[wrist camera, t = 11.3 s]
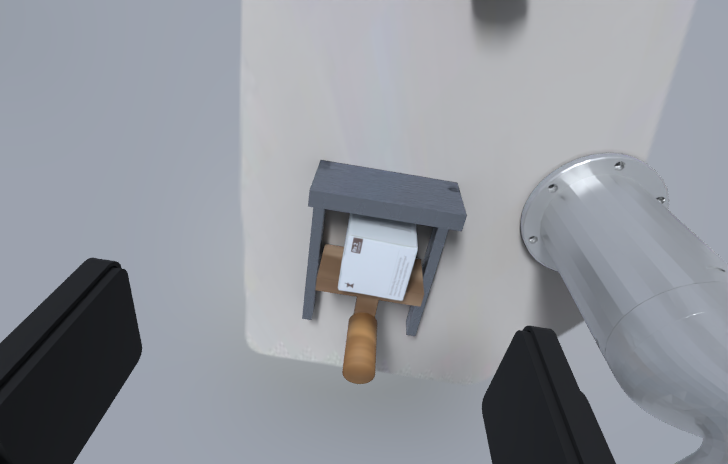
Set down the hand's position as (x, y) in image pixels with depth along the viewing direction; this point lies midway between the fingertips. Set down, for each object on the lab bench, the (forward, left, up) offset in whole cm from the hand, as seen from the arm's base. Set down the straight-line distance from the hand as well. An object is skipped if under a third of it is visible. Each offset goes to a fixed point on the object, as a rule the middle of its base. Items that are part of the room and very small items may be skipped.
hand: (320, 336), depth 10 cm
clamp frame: (-10, +14, -28) cm, 33 cm away
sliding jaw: (-12, +17, -28) cm, 35 cm away
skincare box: (-9, +11, -29) cm, 32 cm away
